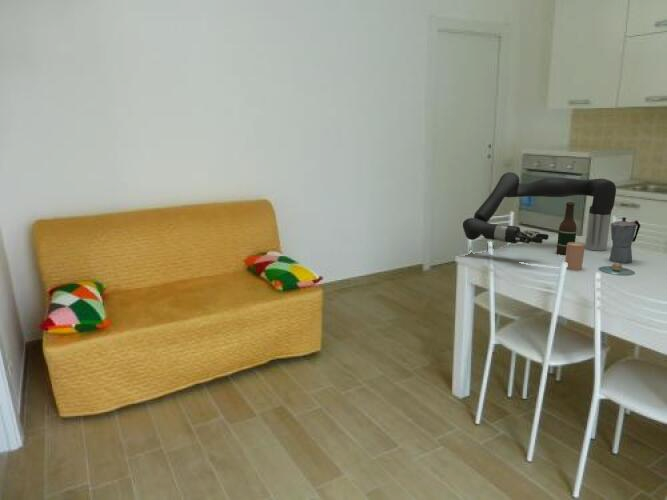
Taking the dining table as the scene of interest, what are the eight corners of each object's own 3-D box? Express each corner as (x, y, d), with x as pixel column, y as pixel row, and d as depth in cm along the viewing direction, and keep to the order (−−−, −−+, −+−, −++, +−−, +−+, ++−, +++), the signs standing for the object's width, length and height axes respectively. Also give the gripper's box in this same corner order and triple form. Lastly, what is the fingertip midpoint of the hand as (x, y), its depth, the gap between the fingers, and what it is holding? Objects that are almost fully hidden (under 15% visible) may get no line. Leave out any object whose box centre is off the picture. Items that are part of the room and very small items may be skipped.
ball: (610, 269, 202) (611, 261, 201) (620, 269, 200) (621, 261, 200) (612, 271, 198) (613, 263, 198) (622, 272, 197) (623, 264, 197)
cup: (563, 266, 208) (566, 241, 206) (580, 268, 206) (583, 242, 204) (565, 271, 202) (568, 245, 200) (582, 272, 201) (585, 246, 198)
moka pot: (597, 261, 216) (603, 216, 210) (623, 257, 221) (630, 213, 216) (616, 267, 207) (623, 220, 202) (643, 263, 212) (650, 217, 207)
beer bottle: (570, 251, 232) (576, 201, 226) (576, 256, 224) (582, 203, 218) (553, 251, 233) (558, 201, 226) (559, 255, 225) (564, 203, 219)
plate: (595, 266, 208) (595, 265, 207) (630, 269, 204) (630, 267, 203) (601, 276, 196) (601, 274, 195) (638, 278, 192) (638, 276, 192)
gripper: (511, 239, 224) (549, 244, 215) (500, 245, 213) (539, 250, 204) (513, 223, 222) (551, 227, 213) (502, 228, 212) (541, 233, 202)
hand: (545, 239), depth 208 cm, fingers open, 8 cm apart
